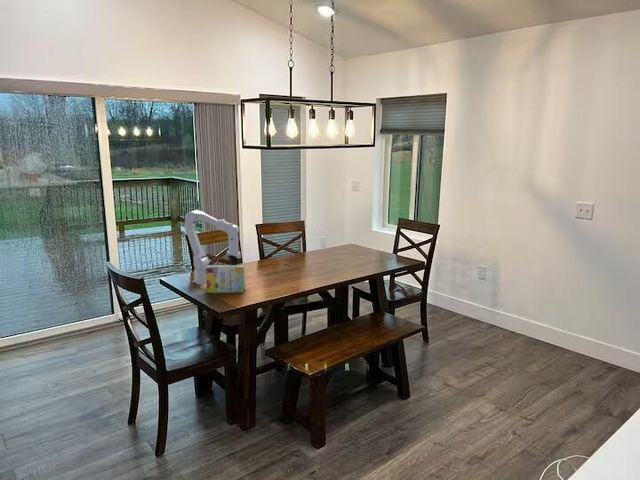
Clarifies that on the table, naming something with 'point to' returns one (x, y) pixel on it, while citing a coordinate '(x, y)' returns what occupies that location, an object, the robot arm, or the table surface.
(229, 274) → the snack box
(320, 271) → the table surface
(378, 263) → the table surface
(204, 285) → the cork coaster
